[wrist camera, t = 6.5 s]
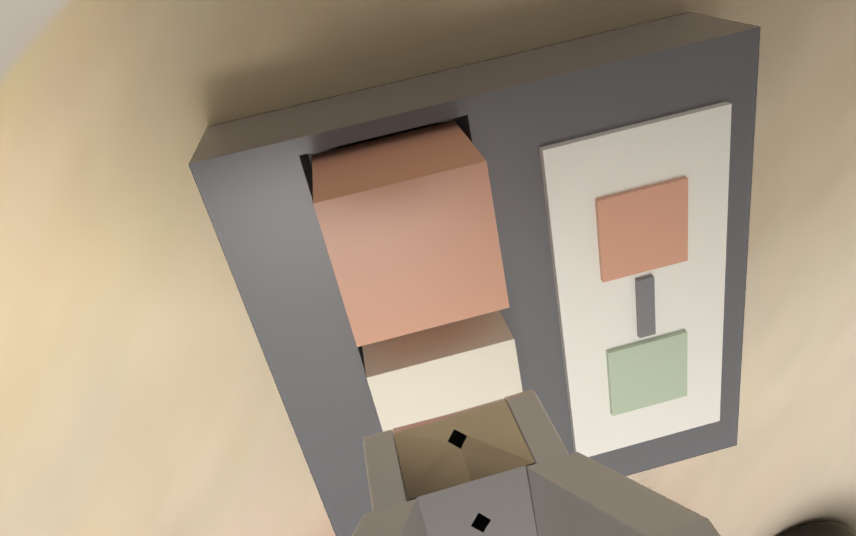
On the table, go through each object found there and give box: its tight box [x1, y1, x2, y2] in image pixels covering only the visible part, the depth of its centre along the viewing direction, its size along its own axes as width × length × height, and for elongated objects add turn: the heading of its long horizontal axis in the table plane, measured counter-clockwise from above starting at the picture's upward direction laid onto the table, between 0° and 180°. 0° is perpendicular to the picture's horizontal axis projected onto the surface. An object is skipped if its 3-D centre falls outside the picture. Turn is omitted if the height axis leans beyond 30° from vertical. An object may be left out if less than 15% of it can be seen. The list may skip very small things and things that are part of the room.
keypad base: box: [189, 12, 760, 536], centre depth 24 cm, size 17×17×4 cm
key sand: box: [362, 310, 523, 432], centre depth 21 cm, size 4×4×4 cm
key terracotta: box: [312, 120, 510, 347], centre depth 19 cm, size 4×4×4 cm
